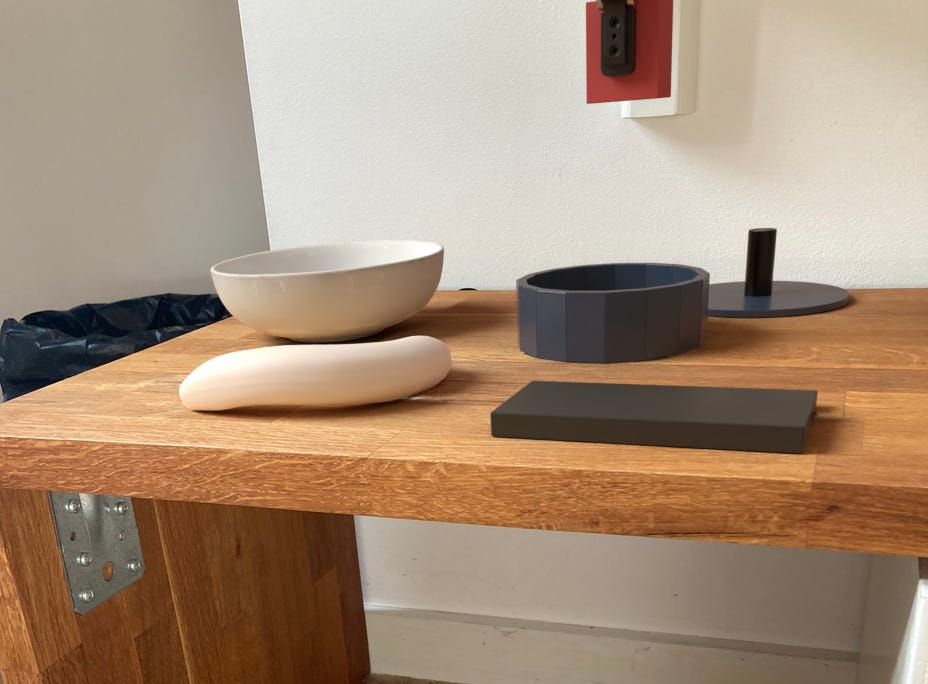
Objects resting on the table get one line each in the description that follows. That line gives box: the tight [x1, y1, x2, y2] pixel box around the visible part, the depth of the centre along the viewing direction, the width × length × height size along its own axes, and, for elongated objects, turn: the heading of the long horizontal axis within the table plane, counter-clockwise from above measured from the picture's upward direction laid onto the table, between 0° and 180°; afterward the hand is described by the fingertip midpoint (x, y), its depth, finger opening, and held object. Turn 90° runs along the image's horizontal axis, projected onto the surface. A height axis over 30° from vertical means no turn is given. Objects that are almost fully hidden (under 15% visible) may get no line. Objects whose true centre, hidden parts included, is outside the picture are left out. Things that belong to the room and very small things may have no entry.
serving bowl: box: [209, 239, 445, 344], centre depth 93 cm, size 21×21×7 cm
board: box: [490, 380, 819, 455], centre depth 62 cm, size 18×8×2 cm, turn 68°
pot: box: [515, 262, 711, 365], centre depth 81 cm, size 15×15×6 cm
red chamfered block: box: [585, 0, 674, 105], centre depth 70 cm, size 5×4×6 cm
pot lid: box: [708, 227, 851, 319], centre depth 92 cm, size 16×16×7 cm
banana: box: [178, 335, 453, 411], centre depth 73 cm, size 5×19×15 cm
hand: (626, 74), depth 71 cm, fingers closed on red chamfered block, 4 cm apart
